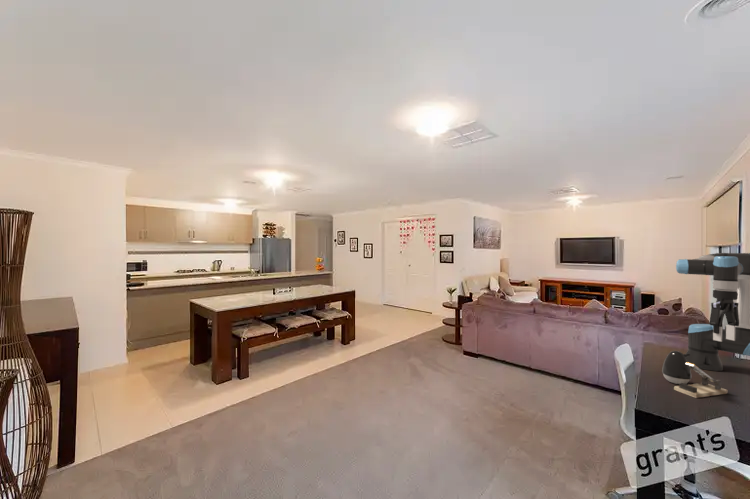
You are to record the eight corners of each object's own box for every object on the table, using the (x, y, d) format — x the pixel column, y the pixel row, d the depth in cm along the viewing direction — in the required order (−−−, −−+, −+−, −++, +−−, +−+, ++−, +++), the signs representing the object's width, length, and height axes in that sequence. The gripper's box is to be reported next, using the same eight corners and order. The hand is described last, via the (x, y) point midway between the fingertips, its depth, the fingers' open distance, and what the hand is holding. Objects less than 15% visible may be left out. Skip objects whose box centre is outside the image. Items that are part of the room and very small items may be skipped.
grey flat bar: (707, 380, 144) (708, 378, 145) (716, 383, 141) (717, 381, 142) (684, 364, 141) (685, 362, 141) (693, 367, 138) (694, 364, 138)
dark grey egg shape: (697, 388, 145) (698, 355, 145) (671, 385, 147) (672, 353, 147) (681, 379, 155) (681, 348, 155) (656, 377, 157) (657, 346, 157)
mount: (704, 385, 147) (704, 374, 147) (727, 393, 140) (727, 381, 140) (674, 389, 142) (674, 377, 142) (695, 397, 135) (696, 385, 135)
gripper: (729, 288, 148) (728, 336, 148) (698, 289, 143) (697, 339, 143) (751, 290, 141) (750, 341, 141) (720, 291, 136) (719, 343, 136)
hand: (724, 340), depth 142 cm, fingers open, 8 cm apart
